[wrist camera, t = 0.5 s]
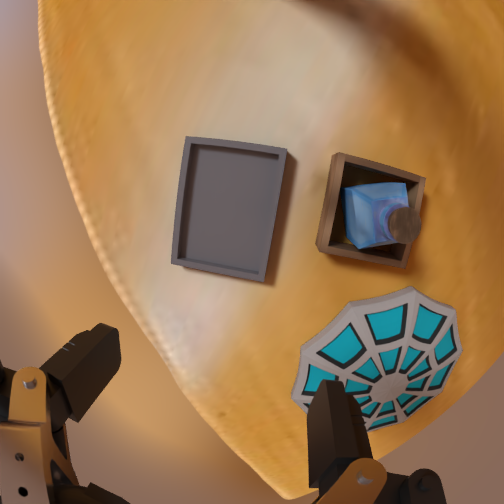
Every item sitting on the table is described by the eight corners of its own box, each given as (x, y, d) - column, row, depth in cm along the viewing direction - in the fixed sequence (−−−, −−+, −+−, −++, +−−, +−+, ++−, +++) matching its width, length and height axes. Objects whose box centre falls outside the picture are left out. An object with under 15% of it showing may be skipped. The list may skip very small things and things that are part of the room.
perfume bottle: (339, 187, 31) (369, 192, 20) (384, 181, 31) (432, 185, 19) (345, 236, 33) (376, 266, 21) (390, 229, 32) (435, 254, 20)
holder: (332, 155, 30) (338, 152, 27) (411, 177, 30) (425, 177, 26) (315, 243, 34) (319, 251, 30) (393, 259, 33) (405, 268, 29)
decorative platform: (257, 345, 39) (254, 366, 34) (433, 247, 32) (451, 257, 27) (334, 443, 44) (337, 461, 39) (461, 377, 37) (471, 392, 33)
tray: (191, 138, 32) (185, 136, 30) (286, 150, 31) (287, 148, 29) (176, 259, 36) (170, 263, 34) (264, 276, 35) (263, 282, 33)
